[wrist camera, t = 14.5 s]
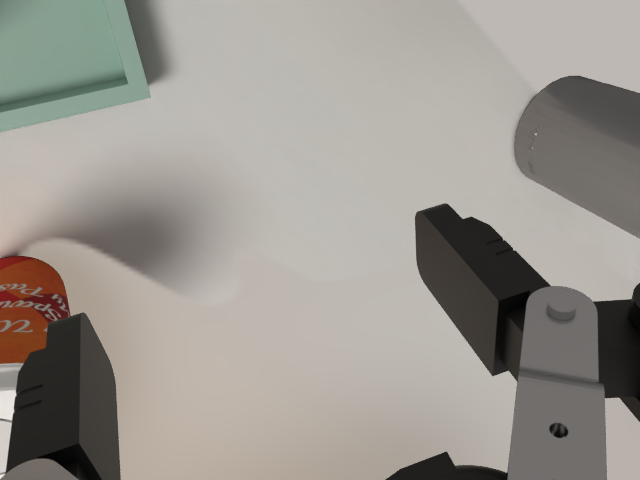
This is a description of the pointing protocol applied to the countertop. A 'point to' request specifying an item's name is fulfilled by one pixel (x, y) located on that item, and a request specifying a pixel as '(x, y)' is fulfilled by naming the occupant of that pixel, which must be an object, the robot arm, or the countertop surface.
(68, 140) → the countertop surface
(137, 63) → the tray
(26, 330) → the paper cup
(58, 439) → the robot arm
